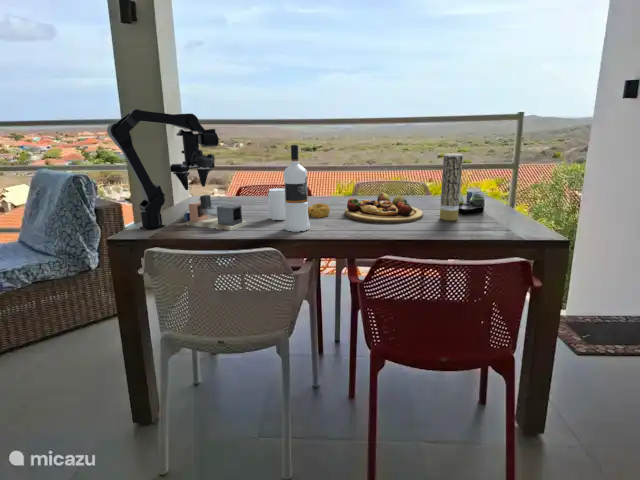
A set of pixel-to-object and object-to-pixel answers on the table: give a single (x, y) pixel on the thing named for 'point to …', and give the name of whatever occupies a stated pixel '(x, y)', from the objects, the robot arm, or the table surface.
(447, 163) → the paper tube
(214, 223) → the base board
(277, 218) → the beverage can
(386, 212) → the wooden plate with food
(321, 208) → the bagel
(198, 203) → the socket
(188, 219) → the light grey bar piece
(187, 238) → the table surface
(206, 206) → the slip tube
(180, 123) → the robot arm
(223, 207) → the sleeve
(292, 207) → the vodka
